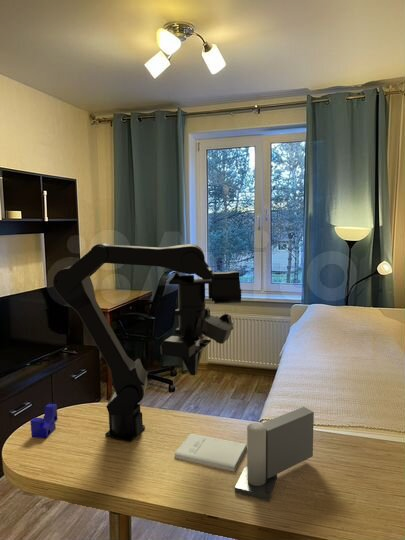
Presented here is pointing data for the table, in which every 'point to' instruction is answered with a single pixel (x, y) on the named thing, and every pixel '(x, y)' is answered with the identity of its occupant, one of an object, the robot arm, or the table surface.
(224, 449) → the external hard drive
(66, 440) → the table surface
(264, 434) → the swing arm
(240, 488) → the arm mount
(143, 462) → the table surface
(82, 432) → the table surface
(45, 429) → the cable holder
